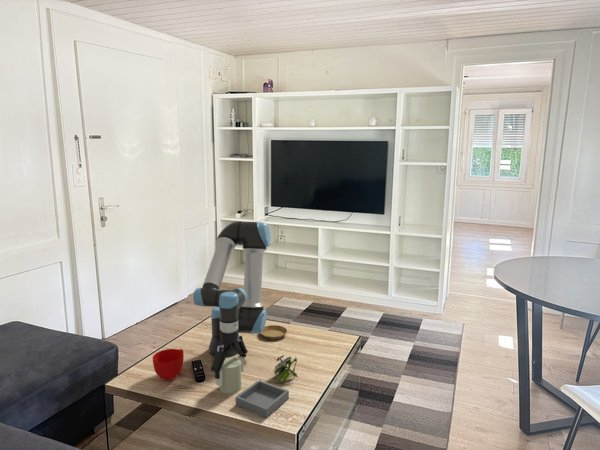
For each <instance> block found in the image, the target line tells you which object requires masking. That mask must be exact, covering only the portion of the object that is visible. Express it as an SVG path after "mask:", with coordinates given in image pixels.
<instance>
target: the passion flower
mask: <svg viewBox="0 0 600 450" xmlns="http://www.w3.org/2000/svg"><path fill="white" fill-rule="evenodd" d="M284 356H285V355H284V354H283V355H280V356H278V357H277V359H276V362H278V361H280V362H279V363H277V364H276V365H275V366H274V368H273V369H274V370H273V372H274V374H275V375H277V374H278V375H277V383H278V384H279V383H283V382H286V381H288V380H289V379H290V378H292V376H293V377H294V378H295V377H296V378H297V377H298V375H297V373H296V372H295V370H296V369H295V368H296V365H297V361H298V358H297V357H294V358H293V359H292V356H288V357H286V358H285V359H283V360H282V358H283V357H284ZM293 363H294V367H293V369H291V367H292V364H293Z"/></svg>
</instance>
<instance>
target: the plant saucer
mask: <svg viewBox="0 0 600 450" xmlns="http://www.w3.org/2000/svg"><path fill="white" fill-rule="evenodd" d="M287 332H288V329H287V328H286V327H284V326H282V325H275V324H271V325H265V327H264V329H263V331H262V332H261V333H260V334H261V336H263V337H264V338H265V339H267V338H268V340H278V339H282V338H283V337H284V336H286V334H287Z"/></svg>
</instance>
